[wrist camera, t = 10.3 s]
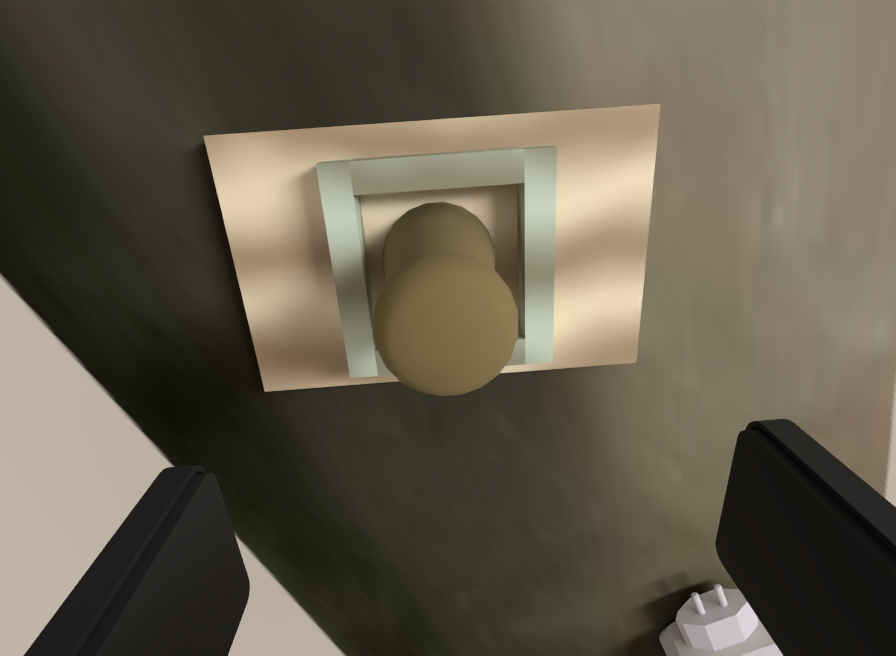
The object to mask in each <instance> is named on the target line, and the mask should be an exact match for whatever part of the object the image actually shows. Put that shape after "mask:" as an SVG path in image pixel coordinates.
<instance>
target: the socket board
mask: <svg viewBox="0 0 896 656" xmlns="http://www.w3.org/2000/svg"><path fill="white" fill-rule="evenodd" d="M659 115H660V104H652V105H638V106H624V107H609V108H595V109H581V110H566V111H552V112H538V113H524V114H509V115H495V116H481V117H466V118H452V119H438V120H424V121H409V122H395V123H381V124H366V125H352V126H338V127H324V128H309V129H295V130H281V131H266V132H252V133H238V134H224V135H209V136H204V140H205V145H206V149H207V153H208V157H209V161H210V165H211V170H212V174H213V178H214V182H215V186H216V190H217V195H218V199H219V203H220V207H221V211H222V215H223V219H224V224H225V228H226V232H227V236H228V240H229V244H230V249H231V253H232V257H233V261H234V265H235V269H236V274H237V278H238V282H239V286H240V290H241V294H242V298H243V303H244V307H245V311H246V315H247V319H248V323H249V328H250V332H251V336H252V340H253V344H254V348H255V353H256V357H257V361H258V365H259V369H260V373H261V377H262V382H263V386H264V390H265V392H266V391H279V390H292V389H305V388H317V387H330V386H343V385H356V384H369V383H381V382H394V381H399V380H398V379H397V378H396V377H395V376H394V375H393V374H392V373H391V372H390V371H389V370H388V369H387V368H386V366H385V364H384V362H383V360H382V358H381V356H380V354H379V352H378V350H377V348H376V345H375V342H374V334H373V326H372V320H373V315H374V310H375V306H376V301H377V298H378V295H379V293H380V292H381V290H382V289H383V287H384V285H385V284H386V280H385V275H384V268H383V259H382V252H383V248H384V243H385V238H386V236H387V234H388V233H389V231H390V229H391V228H392V226H393V224H394V223H395V221H397V220H398V219H399V218H400V217H401V216H402V215H404V214H405V213H406V212H407V211H408V210H410V209H413V208H415V207H417V206H420V205H422V204H425V203H435V202H447V203H451V204H454V205H458V206H462V207H464V208H465V209H467V210H468V211H470V212H471V213H473V214H474V215H476V216H477V217H478V218H479V219H480V220H481V222H482V223H483V224H484V226H485V227H486V228H487V229H488V231H489V234H490V236H491V239H492V242H493V245H494V255H495V271H496V272H497V273H498V275H499V276H500V277H501V278H502V280H503V281H504V282H505V283H506V285H507V286H508V287H509V289H510V291H511V293H512V296H513V299H514V302H515V304H516V307H517V310H518V337H517V341H516V344H515V347H514V350H513V353H512V356H511V358H510V360H509V361H508V362H507V364H506V365H505V366H504V368H503V369H502V370H501V372H500V373H509V372H522V371H535V370H547V369H560V368H573V367H586V366H599V365H611V364H624V363H636V359H637V349H638V338H639V327H640V317H641V306H642V296H643V285H644V274H645V264H646V253H647V242H648V232H649V221H650V211H651V200H652V189H653V179H654V168H655V157H656V147H657V136H658V126H659Z"/></svg>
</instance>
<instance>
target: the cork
mask: <svg viewBox="0 0 896 656" xmlns="http://www.w3.org/2000/svg"><path fill="white" fill-rule="evenodd" d="M382 259H383V268H384V275H385V280H386V284H385V285H384V287H383V289H382V290H381V292H380V293H379V295H378V298H377V301H376V306H375V310H374V315H373V320H372V326H373V334H374V342H375V345H376V348H377V350H378V352H379V354H380V356H381V358H382V360H383V362H384V364H385V366H386V368H387V369H388V370H389V371H390V372H391V373H392V374H393V375H394V376H395V377H396V378H397V379H398V380H399V381H400V382H402V383H403V384H405V385H407V386H409V387H411V388H413V389H415V390H417V391H419V392H423V393H427V394H432V395H437V396H448V395H461V394H464V393H467V392H469V391H472V390H475V389H478V388H481V387H482V386H484V385H485V384H486V383H488V382H489V381H490V380H492V379H493V378H495V377H496V376H497V375H498V374H499V373H500V372H501V370H502V369H503V368H504V366H505V365H506V364H507V362H508V361H509V360H510V358H511V356H512V353H513V350H514V347H515V344H516V341H517V337H518V310H517V307H516V304H515V302H514V299H513V296H512V293H511V291H510V289H509V287H508V286H507V285H506V283H505V282H504V281H503V280H502V278H501V277H500V276H499V275H498V273H497V272H496V271H495V255H494V245H493V242H492V239H491V236H490V234H489V231H488V229H487V228H486V227H485V226H484V224H483V223H482V222H481V220H480V219H479V218H478V217H477V216H476V215H474V214H473V213H471V212H470V211H468V210H467V209H465V208H464V207H462V206H458V205H454V204H451V203H447V202H435V203H425V204H422V205H420V206H417V207H415V208H413V209H410V210H408V211H407V212H406V213H405V214H404V215H402V216H401V217H400V218H399V219H398V220H397V221H395V223H394V224H393V226H392V228H391V229H390V231H389V233H388V234H387V236H386V238H385V243H384V248H383V252H382Z"/></svg>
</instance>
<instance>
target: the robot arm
mask: <svg viewBox="0 0 896 656" xmlns="http://www.w3.org/2000/svg"><path fill="white" fill-rule="evenodd" d="M716 550H717V554H718V556H719V559H720V561H721V563H722V564H723V566H724V567H725V569H726V570H727V572H728V573H729V575H730V576H731V578H732V579H733V581H734V582H735V584H736V585H737V587H738V588H739V590H740V591H741V593H742V594H743V596H744V597H745V599H746V601H747V602H748V604H749V605H750V607H751V608H752V610H753V611H754V613H755V614H756V616H757V617H758V619H759V620H760V622H761V623H762V625H763V626H764V628H765V629H766V631H767V632H768V634H769V635H770V637H771V638H772V640H773V641H774V643H775V644H776V646H777V647H778V649H779V650H780V652H781V653H782V655H783V656H896V507H895V506H893V505H892V504H891V503H890V502H888V501H887V500H886V499H885V498H884V497H883V496H881V495H880V494H879V493H878V492H877V491H875V490H874V489H873V488H872V487H871V486H869V485H868V484H867V483H866V482H865V481H863V480H862V479H861V478H860V477H859V476H857V475H856V474H855V473H854V472H852V471H851V470H850V469H849V468H848V467H846V466H845V465H844V464H843V463H842V462H840V461H839V460H838V459H837V458H836V457H834V456H833V455H832V454H831V453H830V452H828V451H827V450H826V449H825V448H824V447H822V446H821V445H820V444H819V443H818V442H816V441H815V440H814V439H813V438H812V437H810V436H809V435H808V434H807V433H806V432H804V431H803V430H802V429H801V428H800V427H798V426H797V425H796V424H795V423H793V422H792V421H790V420H787V419H776V420H764V421H753V422H750V423H749V424H748V425H747V427H746V430H744V431H741V432H740V433H739V435H738V438H737V442H736V447H735V452H734V456H733V461H732V466H731V471H730V476H729V480H728V485H727V490H726V495H725V499H724V504H723V509H722V514H721V518H720V523H719V528H718V533H717V537H716ZM249 589H250V585H249V578H248V575H247V572H246V569H245V565H244V563H243V559H242V556H241V553H240V550H239V547H238V544H237V540H236V537H235V534H234V531H233V528H232V525H231V522H230V519H229V515H228V512H227V509H226V506H225V503H224V500H223V497H222V494H221V490H220V487H219V484H218V481H217V478H216V476H215V475H214V474H213V473H207V472H206V469H205V468H204V467H203V466H200V465H194V466H182V467H169V468H166V469H164V470H163V471H162V472H161V473H160V474H159V475H158V476H157V478H156V479H155V480H154V482H153V483H152V484H151V486H150V487H149V488H148V490H147V491H146V492H145V494H144V495H143V496H142V498H141V499H140V500H139V502H138V503H137V505H136V506H135V507H134V508H133V510H132V511H131V512H130V514H129V515H128V517H127V518H126V519H125V521H124V522H123V523H122V525H121V526H120V527H119V529H118V530H117V531H116V533H115V534H114V535H113V537H112V538H111V539H110V541H109V542H108V543H107V545H106V546H105V548H104V549H103V550H102V552H101V553H100V554H99V556H98V557H97V558H96V559H95V561H94V562H93V563H92V565H91V566H90V568H89V569H88V570H87V572H86V573H85V574H84V576H83V577H82V578H81V580H80V581H79V582H78V584H77V585H76V586H75V588H74V589H73V590H72V592H71V593H70V594H69V596H68V597H67V598H66V600H65V601H64V602H63V604H62V605H61V606H60V608H59V609H58V610H57V612H56V613H55V614H54V616H53V617H52V618H51V620H50V621H49V623H48V624H47V625H46V626H45V628H44V629H43V630H42V632H41V633H40V635H39V636H38V637H37V639H36V640H35V641H34V643H33V644H32V645H31V647H30V648H29V649H28V651H27V652H26V653H25V655H24V656H228V653H229V651H230V648H231V645H232V642H233V640H234V637H235V634H236V632H237V629H238V626H239V623H240V621H241V618H242V615H243V613H244V610H245V607H246V604H247V601H248V597H249Z"/></svg>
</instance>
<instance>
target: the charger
mask: <svg viewBox="0 0 896 656" xmlns="http://www.w3.org/2000/svg"><path fill="white" fill-rule="evenodd" d="M691 597H692V598H690V599H689V600H688V601H687V602H686V603H685V604H684V605H683V606H682V607H681V609H680V610H679V611H678V613H677V616H676V621H675V622H673V623H671V624H670V625H669V626H667V627H666V628H665V629H664V630H663V631H662V632H661V634H660V636H659V639H660V642H661V644H662V647H663V649H664V651H665V653H666V655H667V656H783V655H782V653H781V652H780V650H779V649H778V647H777V646H776V644H775V643H774V641H773V640H772V638H771V637H770V635H769V634H768V632H767V631H766V629H765V628H764V626H763V625H762V623H761V622H760V620H759V619H758V617H757V616H756V614H755V613H754V611H753V610H752V608H751V607H750V605H749V604H748V602H747V601H746V599H745V597H744V596H743V594H742V593H741V591H740V590H739V589H724V588H722V587H721V585H719V584H716V585H714V590H711V591H708V592H706V593H703V594H700V595H698V593H696V592H693V593H692V594H691Z"/></svg>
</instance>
